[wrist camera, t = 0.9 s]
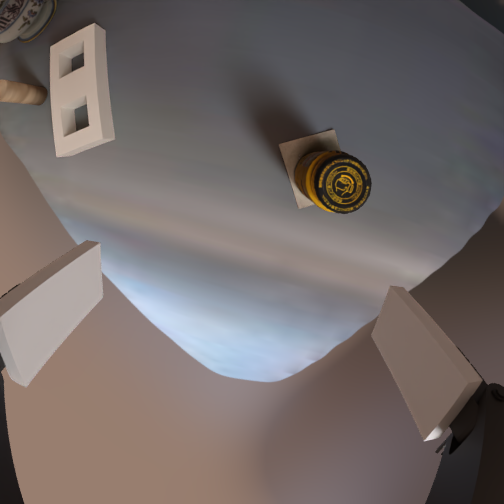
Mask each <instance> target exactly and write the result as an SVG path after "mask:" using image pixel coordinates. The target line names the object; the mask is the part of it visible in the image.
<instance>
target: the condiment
mask: <svg viewBox="0 0 504 504" xmlns="http://www.w3.org/2000/svg"><path fill="white" fill-rule="evenodd" d="M279 147H280V150H281V153H282V157H283V160H284V162H285V166H286V169H287V172H288V175H289V179H290V182H291V185H292V188H293V192H294V195H295V198H296V202H297V205H298V208H299V209H301V208H304V207H307V206H311V205H314V204H316V205H317V206H318V207H319V208H322V209H324V210H326V211H329V212H336V213H342V214H347V213H351V212H354V211H356V210H358V209H359V208H360V207H361V206H363V205H364V203H365V202H366V200H367V199H368V197H369V196H370V191H371V184H372V183H371V178H370V174H369V172H368V170H367V168H366V166H365V165H364V164H363V163H362V162H361V161H359V160H358V159H357V158H356V157H353V156H351V155H349V154H347V153H345V152H342V151H341V150H340V147H339V144H338V140H337V136H336V134H335V130H330V131H326V132H322V133H318V134H314V135H310V136H307V137H303V138H299V139H296V140H292V141H289V142H285V143H282V144H279ZM300 154H301V156H299V155H300ZM299 157H300V159H299Z"/></svg>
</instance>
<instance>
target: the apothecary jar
mask: <svg viewBox="0 0 504 504" xmlns="http://www.w3.org/2000/svg"><path fill="white" fill-rule="evenodd" d="M56 6H57V2H56V0H0V42H1V43H6V42H9V41H12V40H14V39H15V38H17V37H18V39H19V40H20V41H21V42H24V43H25V42H29V41H31V40H33V39H34V38H36V37H37V36H38V35H39V34H40V33H41V32H42V31H43V30H44V29H45V28H46V26H47V25H48V24H49V22H50V21H51V19H52V17H53V15H54V13H55V10H56Z"/></svg>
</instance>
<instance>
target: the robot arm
mask: <svg viewBox="0 0 504 504" xmlns="http://www.w3.org/2000/svg"><path fill="white" fill-rule="evenodd" d="M102 298H103V286H102V272H101V251H100V243H99V242H94V241H88V240H86V241H85V242H83V243H81V244H80V245H78V246H77V247H75V248H73V249H72V250H70V251H69V252H67V253H66V254H64V255H62V256H61V257H59V258H58V259H56V260H55V261H53V262H52V263H50V264H49V265H47V266H46V267H44V268H43V269H41V270H40V271H38V272H37V273H35V274H34V275H32V276H31V277H30V278H28V279H27V280H25V281H24V282H22V283H21V284H19V285H16V286H15V287H13V288H12V289H11V290H9V291H8V293H5V294H4V295H3V296H2V297H1V298H0V504H24V502H23V498H22V495H21V492H20V488H19V484H18V480H17V477H16V473H15V468H14V464H13V459H12V454H11V448H10V443H9V437H8V429H7V421H6V411H5V400H4V399H5V398H4V380H3V376H2V374H1V371H2V370H3V368H4V367H6V369H7V371H8V374H9V376H10V378H11V379H12V380H13V381H15V382H17V383H19V384H20V385H22V386H24V387H27V386H28V384H29V383H30V382H31V380H32V379H33V378H34V377H35V375H36V374H37V373H38V372H39V370H40V369H41V368H42V367H43V365H44V364H45V363H46V362H47V360H48V359H49V358H50V357H51V356H52V354H53V353H54V352H55V351H56V349H57V348H58V347H59V346H60V345H61V343H62V342H63V341H64V340H65V339H66V338H67V337H68V336H69V334H70V333H71V332H72V331H73V330H74V328H75V327H76V326H77V325H78V324H79V323H80V322H81V321H82V320H83V318H84V317H85V316H86V315H87V314H88V313H89V312H90V311H91V309H93V308H94V306H95V305H96V304H97V303H98V302H99V301H100V300H101V299H102ZM371 336H372V338H373V340H374V342H375V344H376V345H377V347H378V349H379V351H380V353H381V354H382V357H383V359H384V360H385V362H386V364H387V366H388V368H389V370H390V372H391V374H392V376H393V378H394V380H395V381H396V384H397V386H398V388H399V390H400V391H401V394H402V396H403V398H404V400H405V402H406V404H407V406H408V408H409V410H410V412H411V414H412V416H413V418H414V420H415V423H416V425H417V427H418V429H419V431H420V433H421V436H422V438H423V440H424V441H426V440H431V439H435V438H439V437H440V436H441V435H442V434H443V433H444V432H445V430H446V429H447V428H448V427H450V428H451V430H452V433H451V434H450V435H449V436H448V438H447V439H446V440H445V441H444V442H443V443H442V444H441V445H440V446H439V447H438V449H437V450H436V453H438V452H439V451H440V450H441V449H442V448H444V451H443V452H442V454H441V455H442V458H441V462H440V465H439V468H438V471H437V474H436V477H435V480H434V482H433V485H432V488H431V491H430V493H429V496H428V498H427V501H426V503H425V504H504V387H503V386H501V385H499V384H496V383H491V384H489V385H487V384H486V382H485V381H484V379H483V378H482V377H481V375H480V374H479V373H478V372H477V370H476V369H475V368H474V367H473V365H472V364H470V362H469V360H468V359H467V358H466V357H465V355H464V354H463V353H462V352H461V350H460V349H459V348H458V347H457V346H455V345H454V344H453V342H451V340H450V339H449V338H448V337H447V335H446V334H445V333H444V332H443V331H442V330H441V328H440V327H439V326H438V325H437V324H436V323H435V322H434V320H433V319H432V318H431V317H430V316H429V315H428V314H427V313H426V311H425V310H424V309H423V308H422V307H421V306H420V305H419V304H418V303H417V302H416V301H415V299H414V298H413V297H412V296H411V295H410V294H409V293H408V292H407V291H406V290H405V289H404V288H403V287H396V286H390V287H389V290H388V293H387V296H386V299H385V301H384V304H383V307H382V309H381V312H380V315H379V317H378V320H377V322H376V325H375V328H374V330H373V332H372V335H371Z"/></svg>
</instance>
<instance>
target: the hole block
mask: <svg viewBox="0 0 504 504" xmlns="http://www.w3.org/2000/svg"><path fill="white" fill-rule="evenodd" d="M82 53H84V66H83V67H81V68H79V69H77V70H75V71H73V72H72V58H74V57H76V56H78V55H80V54H82ZM50 93H51V111H52V123H53V133H54V141H55V149H56V156H57V157H65V156H72V155H75V154H77V153H79V152H82V151H85V150H87V149H90V148H92V147H95V146H98V145H100V144H103V143H106V142H109V141H112V140H115V134H114V127H113V120H112V112H111V103H110V94H109V84H108V72H107V57H106V31H105V30H104V29H102V28H101V27H100V26H98V25H97V24H95V23H93V24H91V25H89V26H87V27H85V28H83V29H81V30H79V31H77V32H75V33H74V34H72V35H70V36H68V37H66V38H65V39H63V40H61V41H59V42H58V43H56V44H54V45H53V46H51V47H50ZM85 104H87V109H88V118H89V126H88V127H86V128H84V129H81V130H79V131H77V130H76V122H75V112H74V109H77V108H79V107H81V106H83V105H85Z"/></svg>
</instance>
